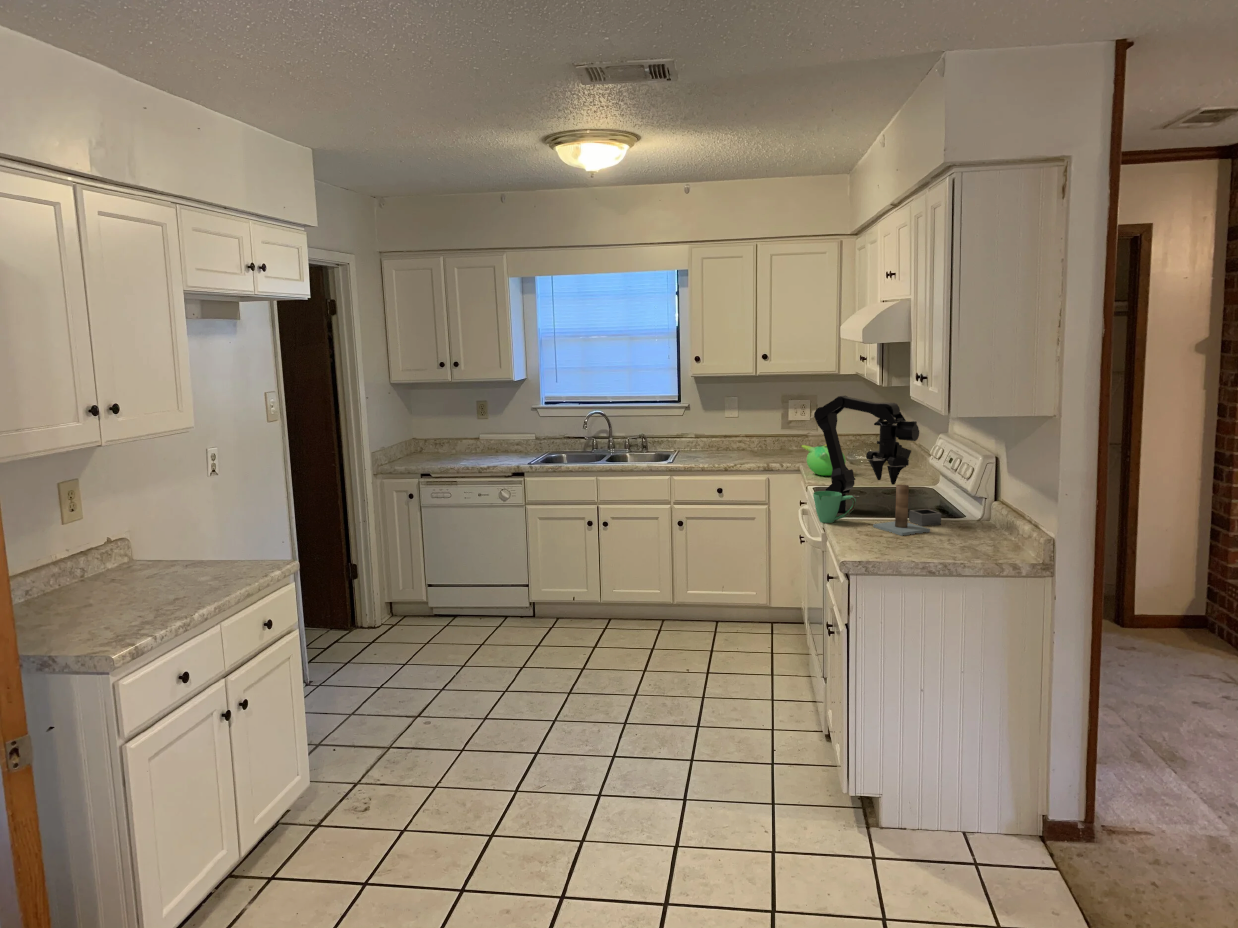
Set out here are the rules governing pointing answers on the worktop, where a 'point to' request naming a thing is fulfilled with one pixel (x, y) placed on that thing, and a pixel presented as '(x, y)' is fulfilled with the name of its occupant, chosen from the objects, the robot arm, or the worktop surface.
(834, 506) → the mug
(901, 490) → the dowel
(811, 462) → the toy bird
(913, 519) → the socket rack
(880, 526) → the board
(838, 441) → the robot arm
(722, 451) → the worktop surface
